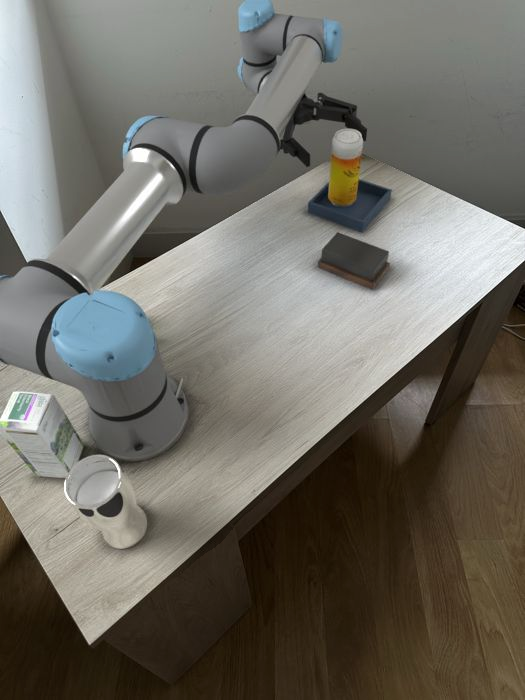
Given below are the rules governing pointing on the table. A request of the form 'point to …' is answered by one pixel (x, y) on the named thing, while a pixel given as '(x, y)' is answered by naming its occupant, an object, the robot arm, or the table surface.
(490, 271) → the table surface
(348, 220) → the tray
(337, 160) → the beer can
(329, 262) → the sharpening stone
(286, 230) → the table surface
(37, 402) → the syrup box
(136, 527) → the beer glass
